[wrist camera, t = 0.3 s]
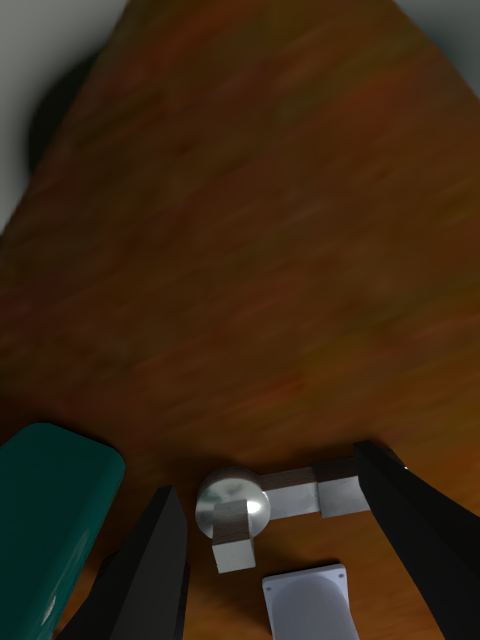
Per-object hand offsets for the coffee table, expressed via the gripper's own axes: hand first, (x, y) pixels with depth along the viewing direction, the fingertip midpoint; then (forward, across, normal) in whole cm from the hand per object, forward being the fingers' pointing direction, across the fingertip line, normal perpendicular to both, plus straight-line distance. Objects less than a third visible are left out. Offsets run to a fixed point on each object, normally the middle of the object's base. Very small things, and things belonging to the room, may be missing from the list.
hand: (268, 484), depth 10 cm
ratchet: (+10, -2, +11) cm, 15 cm away
